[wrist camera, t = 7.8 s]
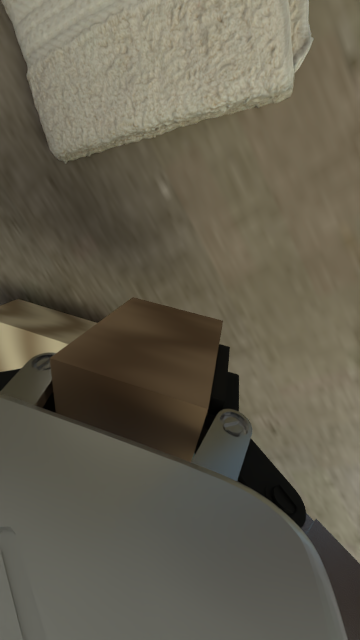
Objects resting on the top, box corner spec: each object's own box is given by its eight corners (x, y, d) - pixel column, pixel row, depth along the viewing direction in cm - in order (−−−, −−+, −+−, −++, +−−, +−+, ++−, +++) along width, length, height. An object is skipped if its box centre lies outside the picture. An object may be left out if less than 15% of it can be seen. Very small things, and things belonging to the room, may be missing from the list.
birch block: (131, 331, 24) (108, 356, 20) (121, 425, 32) (102, 459, 27) (21, 297, 26) (-24, 314, 22) (35, 394, 33) (5, 422, 29)
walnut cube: (222, 320, 11) (207, 408, 6) (201, 392, 14) (178, 502, 8) (132, 297, 12) (49, 358, 7) (127, 368, 14) (60, 456, 9)
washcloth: (302, 101, 14) (318, 73, 11) (68, 171, 19) (39, 164, 16) (317, -267, 9) (349, -467, 7) (1, -44, 14) (-54, -105, 12)
